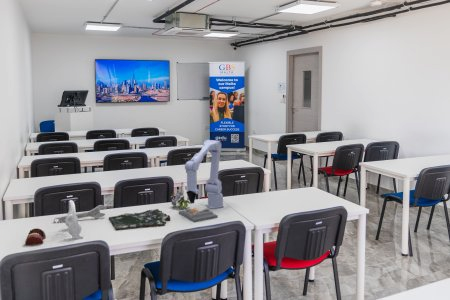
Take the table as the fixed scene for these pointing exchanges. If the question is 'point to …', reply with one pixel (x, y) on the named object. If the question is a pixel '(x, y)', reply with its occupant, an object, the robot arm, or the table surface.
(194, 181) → the robot arm
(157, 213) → the topographical map
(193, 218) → the grey stepped slab
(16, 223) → the table surface
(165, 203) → the table surface
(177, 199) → the passion flower
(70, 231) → the grey figurine
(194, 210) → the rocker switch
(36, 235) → the dark brown rounded lump
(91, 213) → the wrench
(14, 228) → the table surface
